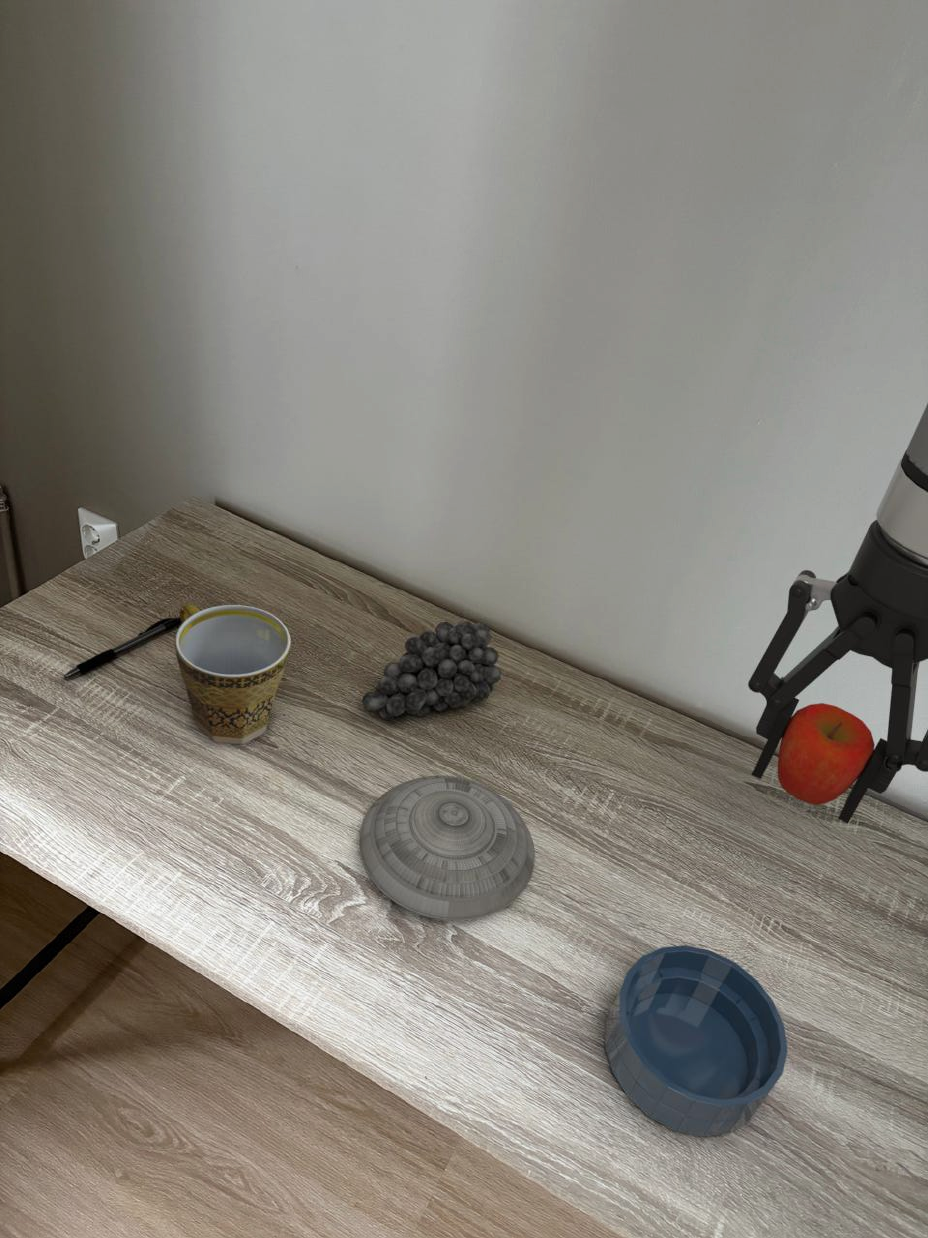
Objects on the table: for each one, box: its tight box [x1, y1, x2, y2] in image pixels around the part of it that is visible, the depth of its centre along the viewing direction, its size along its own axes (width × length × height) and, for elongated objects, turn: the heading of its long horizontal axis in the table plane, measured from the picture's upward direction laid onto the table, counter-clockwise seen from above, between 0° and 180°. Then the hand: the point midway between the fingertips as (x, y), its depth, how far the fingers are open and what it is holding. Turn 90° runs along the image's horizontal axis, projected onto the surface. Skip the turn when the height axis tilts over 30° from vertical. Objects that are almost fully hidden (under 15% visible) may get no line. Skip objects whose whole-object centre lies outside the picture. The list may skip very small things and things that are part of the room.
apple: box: [777, 702, 876, 806], centre depth 74 cm, size 6×6×8 cm
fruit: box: [361, 620, 502, 721], centre depth 96 cm, size 9×8×15 cm
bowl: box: [604, 944, 788, 1137], centre depth 71 cm, size 12×12×5 cm
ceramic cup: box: [174, 603, 292, 745], centre depth 90 cm, size 13×10×10 cm
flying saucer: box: [358, 775, 536, 922], centre depth 82 cm, size 15×15×6 cm
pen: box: [63, 616, 182, 680], centre depth 98 cm, size 14×2×1 cm, turn 141°
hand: (803, 788), depth 76 cm, fingers closed on apple, 6 cm apart
